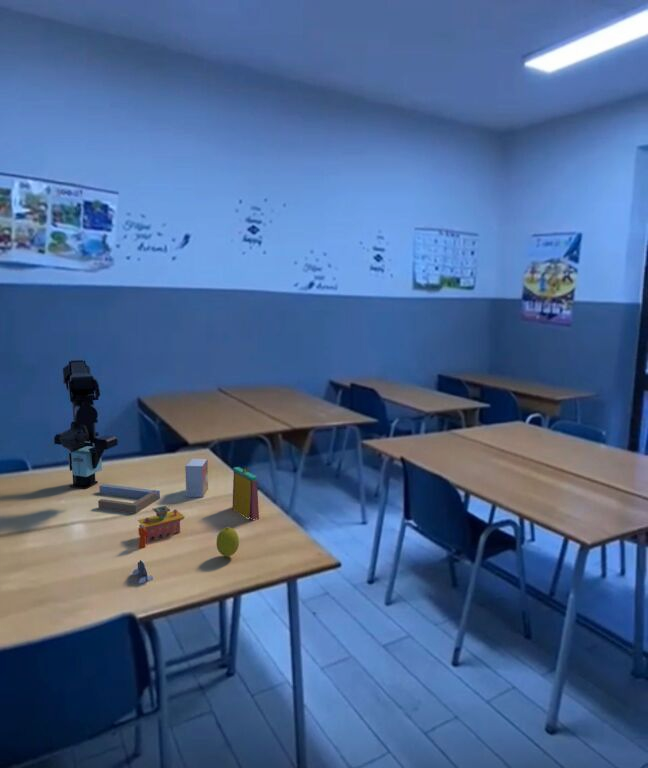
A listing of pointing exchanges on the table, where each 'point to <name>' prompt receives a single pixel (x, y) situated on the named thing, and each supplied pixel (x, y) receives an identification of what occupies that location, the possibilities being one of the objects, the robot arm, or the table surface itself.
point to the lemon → (227, 541)
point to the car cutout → (142, 573)
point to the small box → (196, 477)
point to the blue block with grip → (84, 462)
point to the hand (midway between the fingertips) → (87, 467)
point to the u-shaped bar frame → (144, 495)
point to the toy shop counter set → (169, 522)
